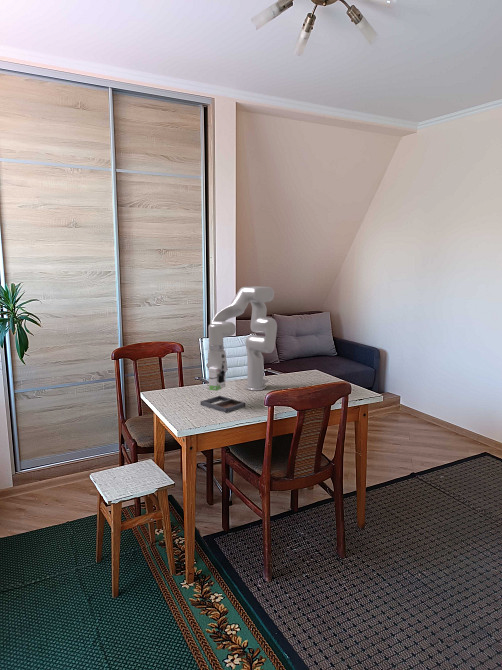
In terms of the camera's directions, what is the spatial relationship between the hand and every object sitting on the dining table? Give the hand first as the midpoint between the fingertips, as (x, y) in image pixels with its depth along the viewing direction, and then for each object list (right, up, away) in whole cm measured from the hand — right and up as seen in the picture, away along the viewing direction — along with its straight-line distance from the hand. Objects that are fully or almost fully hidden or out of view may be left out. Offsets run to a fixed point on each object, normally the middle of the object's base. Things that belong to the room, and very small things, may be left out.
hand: (217, 380), depth 245 cm
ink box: (0, -4, +1) cm, 4 cm away
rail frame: (+3, -13, -2) cm, 13 cm away
